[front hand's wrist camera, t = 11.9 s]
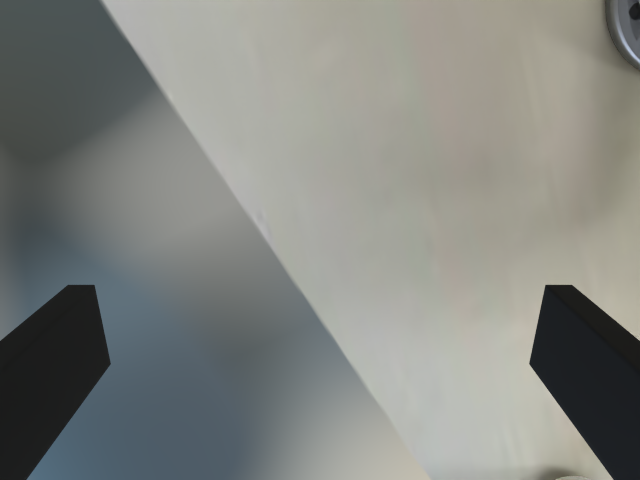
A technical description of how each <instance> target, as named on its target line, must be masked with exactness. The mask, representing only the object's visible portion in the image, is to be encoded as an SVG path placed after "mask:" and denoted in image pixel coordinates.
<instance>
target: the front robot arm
mask: <svg viewBox="0 0 640 480" xmlns="http://www.w3.org/2000/svg"><path fill="white" fill-rule="evenodd" d="M606 18H607V24H608V29H609V32H610V35H611V38H612V40H613V42H614V44H615V46H616V47H617V49H618V51H619V52H620V53H621V55H622V56H623V57H624V58H625V59H626V60H627V61H628V62H629V63H630V64H631V65H633V66H634V67H636V68H637V69H639V70H640V0H606ZM110 364H111V363H110V358H109V354H108V348H107V344H106V339H105V334H104V329H103V324H102V319H101V314H100V310H99V305H98V300H97V295H96V290H95V286H94V285H67V286H66V287H65V288H64V289H63V290H61V291H60V292H59V293H58V294H57V295H55V296H54V297H53V298H52V299H50V300H49V301H48V302H47V303H46V304H44V305H43V306H42V307H41V308H40V309H38V310H37V311H36V312H35V313H34V314H32V315H31V316H30V317H29V318H28V319H26V320H25V321H24V322H23V323H21V324H20V325H19V326H18V327H17V328H15V329H14V330H13V331H12V332H11V333H9V334H8V335H7V336H6V337H5V338H3V339H2V340H1V341H0V480H26V479H27V478H28V477H29V475H30V474H31V473H32V471H33V470H34V469H35V467H36V466H37V464H38V463H39V462H40V460H41V459H42V458H43V456H44V455H45V453H46V452H47V451H48V449H49V448H50V447H51V445H52V444H53V442H54V441H55V440H56V438H57V437H58V436H59V434H60V433H61V431H62V430H63V429H64V427H65V426H66V425H67V423H68V422H69V420H70V419H71V418H72V416H73V415H74V414H75V412H76V411H77V409H78V408H79V407H80V405H81V404H82V403H83V401H84V400H85V398H86V397H87V396H88V394H89V393H90V392H91V390H92V389H93V388H94V386H95V385H96V383H97V382H98V381H99V379H100V378H101V377H102V375H103V374H104V372H105V371H106V370H107V368H108V367H109V366H110ZM529 364H530V366H531V367H532V368H533V370H534V371H535V372H536V374H537V375H538V377H539V378H540V379H541V381H542V382H543V383H544V385H545V386H546V388H547V389H548V390H549V392H550V393H551V394H552V396H553V397H554V399H555V400H556V401H557V403H558V404H559V405H560V407H561V408H562V409H563V411H564V412H565V414H566V415H567V416H568V418H569V419H570V420H571V422H572V423H573V425H574V426H575V427H576V429H577V430H578V431H579V433H580V434H581V436H582V437H583V438H584V440H585V441H586V442H587V444H588V445H589V447H590V448H591V449H592V451H593V452H594V453H595V455H596V456H597V458H598V459H599V460H600V462H601V463H602V464H603V466H604V467H605V469H606V470H607V471H608V473H609V474H610V475H611V477H612V478H613V479H614V480H640V341H639V340H638V339H637V338H635V337H634V336H633V335H632V334H631V333H629V332H628V331H627V330H626V329H625V328H623V327H622V326H621V325H620V324H619V323H617V322H616V321H615V320H614V319H612V318H611V317H610V316H609V315H608V314H606V313H605V312H604V311H603V310H602V309H600V308H599V307H598V306H597V305H596V304H594V303H593V302H592V301H591V300H590V299H588V298H587V297H586V296H585V295H583V294H582V293H581V292H580V291H579V290H577V289H576V288H575V287H574V286H573V285H545V290H544V295H543V300H542V305H541V310H540V314H539V319H538V324H537V329H536V334H535V339H534V344H533V348H532V353H531V358H530V363H529Z"/></svg>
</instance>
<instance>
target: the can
mask: <svg viewBox="0 0 640 480" xmlns="http://www.w3.org/2000/svg"><path fill="white" fill-rule="evenodd" d="M555 480H590V479H588V478H585V477H581V476H566V477H561V478H558V479H555Z"/></svg>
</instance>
